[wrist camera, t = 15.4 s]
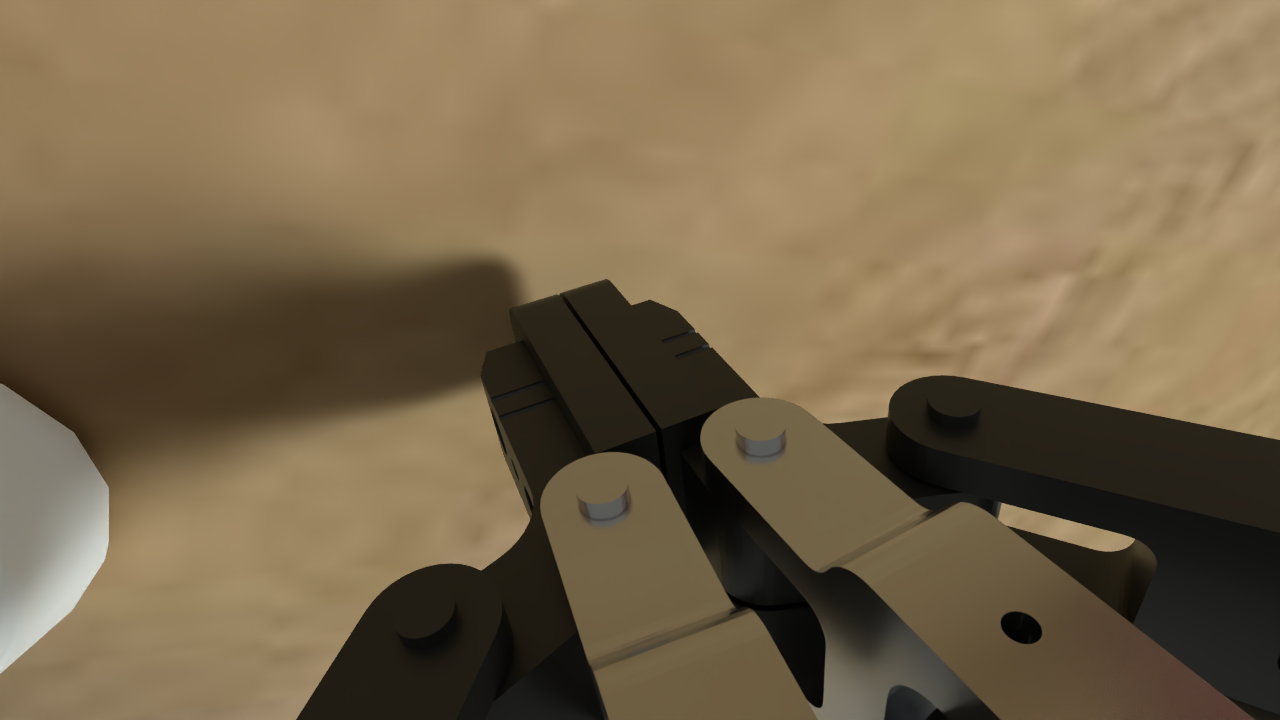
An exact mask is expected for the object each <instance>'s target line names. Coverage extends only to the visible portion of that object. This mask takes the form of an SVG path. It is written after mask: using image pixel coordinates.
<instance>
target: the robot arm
mask: <svg viewBox="0 0 1280 720" xmlns="http://www.w3.org/2000/svg"><path fill="white" fill-rule="evenodd" d="M509 313H510V320H511V324H512V328H513V332H514V336H515V340H516V343H514V344H510V345H507V346H504V347H501V348H498V349H495V350H492V351H489V352H486V356H485V360H484V364H483V368H482V372H481V379H482V383H483V386H484V390H485V393H486V396H487V400H488V403H489V407H490V410H491V413H492V417H493V420H494V424H495V427H496V431H497V434H498V437H499V441H500V444H501V448H502V451H503V455H504V457H505V460H506V462H507V464H508V467H509V469H510V472H511V474H512V476H513V479H514V480H515V483H516V486H517V488H518V491H519V493H520V495H521V498H522V499H523V502H524V505H525V507H526V510H527V512H528V514H529V517H530V522H529V524H528V526H527V528H526V530H525V532H524V533H523V535H522V536H521V537H520V539H519V540H518V541H517V542H516V543H515V544H514V545H513V547H512V548H511V549H510V550H508V551H507V552H506V553H505V554H504V555H502V556H501V557H500V558H498V559H497V560H496V561H494V562H493V563H492V564H490V565H489V566H487V567H486V568H485V569H483V570H482V571H480V570H478V569H476V568H473V567H471V566H466V565H462V564H438V565H433V566H429V567H425V568H422V569H419V570H416V571H414V572H412V573H410V574H407V575H405V576H403V577H402V578H400V579H399V580H397V581H395V582H394V583H392V584H391V585H390V586H389V587H387V588H386V589H385V590H384V591H382V592H381V593H380V594H379V595H378V596H377V597H376V599H375V600H374V601H373V602H372V603H371V604H370V606H369V607H368V608H367V610H366V611H365V613H364V614H363V616H362V617H361V619H360V621H359V622H358V624H357V625H356V627H355V628H354V630H353V632H352V633H351V635H350V636H349V638H348V639H347V641H346V642H345V644H344V646H343V647H342V649H341V650H340V652H339V653H338V655H337V657H336V658H335V660H334V661H333V663H332V664H331V666H330V668H329V669H328V671H327V672H326V674H325V675H324V677H323V678H322V680H321V682H320V683H319V685H318V686H317V688H316V689H315V691H314V693H313V694H312V696H311V697H310V699H309V700H308V702H307V704H306V705H305V707H304V708H303V710H302V711H301V713H300V715H299V716H298V718H297V719H296V720H1280V440H1276V439H1271V438H1266V437H1261V436H1256V435H1251V434H1246V433H1241V432H1236V431H1231V430H1226V429H1221V428H1216V427H1211V426H1206V425H1201V424H1196V423H1191V422H1186V421H1181V420H1175V419H1170V418H1165V417H1160V416H1155V415H1150V414H1145V413H1140V412H1135V411H1130V410H1125V409H1120V408H1115V407H1110V406H1105V405H1100V404H1095V403H1090V402H1085V401H1080V400H1075V399H1070V398H1064V397H1059V396H1054V395H1049V394H1044V393H1039V392H1034V391H1029V390H1024V389H1019V388H1014V387H1009V386H1004V385H999V384H994V383H989V382H984V381H979V380H974V379H969V378H963V377H957V376H943V375H942V376H929V377H923V378H919V379H916V380H913V381H910V382H908V383H906V384H904V385H903V386H901V387H900V388H899V389H898V390H897V391H896V392H895V393H894V394H893V396H892V397H891V400H890V403H889V411H888V417H886V418H878V419H870V420H862V421H853V422H845V423H834V424H822V423H821V422H820V421H819V420H818V419H816V418H815V417H814V416H813V415H812V414H810V413H809V412H808V411H806V410H805V409H803V408H802V407H800V406H798V405H796V404H794V403H791V402H788V401H785V400H780V399H775V398H760V397H759V396H758V395H757V394H756V393H755V392H754V391H753V390H752V389H751V388H750V387H749V386H748V385H747V384H746V383H745V382H744V380H743V379H742V378H741V377H740V376H739V375H738V374H737V373H736V372H735V371H734V370H733V369H732V368H731V367H730V366H729V365H728V364H727V363H726V362H725V361H724V360H723V358H722V357H721V356H720V355H719V354H718V353H717V352H716V351H715V350H714V349H713V348H710V347H709V344H708V343H707V342H706V341H705V340H704V339H703V337H702V336H701V335H700V334H699V333H696V332H695V329H694V328H693V327H692V326H691V325H690V324H689V323H688V322H687V321H686V320H685V319H684V318H683V317H682V315H681V314H680V313H679V312H678V311H676V310H673V309H671V308H669V307H666V306H664V305H661V304H659V303H657V302H654V301H652V300H648V301H645V302H641V303H638V304H635V305H632V306H631V305H630V304H629V302H628V301H627V300H626V299H625V298H624V297H623V295H622V294H621V293H620V292H619V291H618V290H617V288H616V287H615V286H614V285H613V284H612V283H611V282H610V281H609V280H608V279H605V280H602V281H598V282H595V283H592V284H589V285H585V286H582V287H579V288H576V289H572V290H569V291H566V292H563V293H560V295H553V296H550V297H547V298H544V299H540V300H537V301H534V302H531V303H527V304H524V305H521V306H518V307H514V308H511V309H510V310H509ZM1001 503H1005V504H1009V505H1013V506H1016V507H1020V508H1024V509H1028V510H1032V511H1036V512H1039V513H1043V514H1047V515H1051V516H1055V517H1058V518H1062V519H1066V520H1070V521H1074V522H1077V523H1081V524H1085V525H1089V526H1093V527H1096V528H1100V529H1104V530H1108V531H1112V532H1116V533H1119V534H1123V535H1126V536H1129V537H1132V538H1134V539H1135V541H1134V542H1133V543H1132V544H1131V545H1130V546H1129V547H1127V548H1125V549H1123V550H1120V551H1114V552H1104V551H1097V550H1093V549H1089V548H1086V547H1082V546H1078V545H1075V544H1071V543H1067V542H1064V541H1060V540H1057V539H1053V538H1049V537H1046V536H1042V535H1038V534H1035V533H1031V532H1027V531H1024V530H1020V529H1016V528H1013V527H1009V526H1006V525H1004V524H1003V523H1002V522H1000V521H999V520H998V516H999V512H1000V508H1001Z"/></svg>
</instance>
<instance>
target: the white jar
mask: <svg viewBox="0 0 1280 720" xmlns="http://www.w3.org/2000/svg"><path fill="white" fill-rule="evenodd" d="M108 544H109V487H108V486H107V484H106V482H105V481H104V479H103V478H102V476H101V474H100V473H99V471H98V470H97V468H96V467H95V465H94V463H93V462H92V460H91V459H90V457H89V455H88V454H87V452H86V451H85V449H84V447H83V446H82V444H81V443H80V441H79V440H78V438H77V436H76V435H75V433H74V432H73V431H71V430H70V429H68V428H67V427H65V426H64V425H62V424H61V423H59V422H58V421H56V420H55V419H53V418H52V417H51V416H49V415H48V414H46V413H45V412H43V411H42V410H40V409H39V408H37V407H36V406H34V405H33V404H31V403H30V402H28V401H27V400H25V399H24V398H22V397H21V396H20V395H18V394H17V393H15V392H14V391H12V390H11V389H9V388H8V387H6V386H5V385H3V384H1V383H0V674H1V673H2V672H3V671H4V670H5V669H6V668H7V667H9V666H10V665H11V664H12V663H13V662H14V661H15V660H17V659H18V658H19V657H20V656H21V655H22V654H23V653H24V652H26V651H27V650H28V649H29V648H30V647H31V646H32V645H34V644H35V643H36V642H37V641H38V640H39V639H40V638H41V637H43V636H44V635H45V634H46V633H47V632H48V631H49V630H51V629H52V628H53V627H54V626H55V625H56V624H57V623H58V622H60V621H61V620H62V619H63V618H64V617H65V616H66V615H68V614H69V613H70V612H71V611H72V610H73V608H74V607H75V605H76V604H77V602H78V601H79V599H80V598H81V596H82V595H83V593H84V591H85V590H86V588H87V587H88V585H89V584H90V582H91V581H92V579H93V577H94V576H95V574H96V573H97V571H98V570H99V568H100V567H101V565H102V564H103V562H104V560H105V557H106V552H107V548H108Z"/></svg>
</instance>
